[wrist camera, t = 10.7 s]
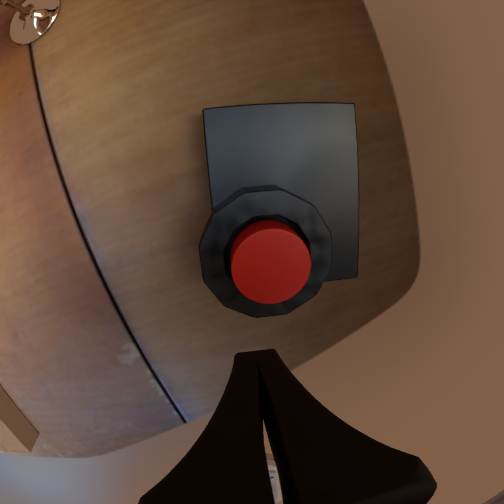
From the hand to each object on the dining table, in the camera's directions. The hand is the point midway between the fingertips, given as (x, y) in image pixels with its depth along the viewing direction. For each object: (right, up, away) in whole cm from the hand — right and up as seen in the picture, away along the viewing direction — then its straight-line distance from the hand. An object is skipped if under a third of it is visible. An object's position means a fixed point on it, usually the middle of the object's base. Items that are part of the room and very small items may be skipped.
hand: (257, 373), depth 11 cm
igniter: (+1, +4, +5) cm, 7 cm away
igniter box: (+2, +8, +8) cm, 11 cm away
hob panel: (-29, -13, +12) cm, 34 cm away
